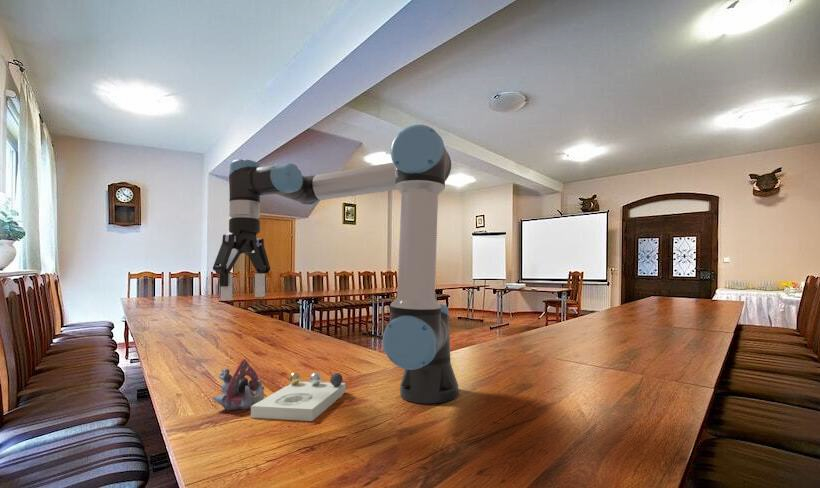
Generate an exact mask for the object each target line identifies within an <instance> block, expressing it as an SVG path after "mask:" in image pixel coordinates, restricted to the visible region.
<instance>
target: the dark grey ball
mask: <svg viewBox="0 0 820 488" xmlns="http://www.w3.org/2000/svg"><path fill="white" fill-rule="evenodd" d="M329 383H331V384H332V385H334V386H339V385H340V384H341V383H343V375H342V374H341V373H338V372H336V373H333V374H332V375H331V376H330V382H329Z"/></svg>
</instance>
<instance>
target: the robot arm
mask: <svg viewBox="0 0 820 488" xmlns="http://www.w3.org/2000/svg"><path fill="white" fill-rule="evenodd" d="M390 157H391V161H392V162H388V163H382V164H376V165H370V166H363V167H357V168H351V169H344V170H338V171H333V172H327V173H326V172H325V173H319V174H313V175H308V176H304V175H303V173H302V171H301V169H299V167H298V165H296V164H295V163H290V162H289V163H288V162H287V163H286V162H285V163H284V162H282V163H281V162H280V163H275V164H272V165H264V166H260V164H259V163H258V162H257V161H254V160H251V159H235V160H232V161H231V162H230V164H229V172H228V173H229V174H228V185H229V199H228V200H229V206H228V207H229V212H228V214H229V215H228V216H229V217H230V219H229V220H228V232H229V233H225V234H223V235H222V241H221V244H220V247H219V250H218V253H217V255H216V257H215V260H214V263H213V266H212V270H213V271H214V272H215V273H216V274H217V275H218V274H219V286H220V301H233V299H234V298H233V297H234V295H233V290H234V287H233V284H234V283H233V280H234V279H233V278H234V277H233V276H234V274H233V273H231V271H232V269H233V268H234V266H235V265H236V262H237V260H238V259H239V258H240V255H241V254H245V255H246V256H247V257H248V258H249V260H250V262H251V264H252V266H253V267H254V269H255V271H256V273H254V298H261V297H262V298H265V297H266V274H270V271H271V266H270V262H269V258H268V255H267V252H266V249H265V240H264V238H261V237H260V238H257V234H260V233H261V232H260V231H261V221H260V220H259V219H260V218H261V196H269V195H278V196H280V197H284V198H287V199H289V200H293V201H295V202H298V203H300V204H303V205H308V206H314V205H316V204H318V203H319V202H320V201H325V200H333V199H341V198H347V197H354V196H361V195H369V194H370V195H371V194H376V193H377V194H378V193H385V192H391V191H392V192H393V191H398V192H399V193H400V196H401V197H400V216H399V217H400V220H399V244H398V246H399V247H398V269H397V270H398V273H397V292H396V293H397V295H396V296H397V297H396V298H395V299H394V300H393V301H392V302H391V303H390V307H389V322H388V324H386V327H385V329H384V331H383V334H382V346H383V350H384V353H385V355H386V356H387V358H388V359H389V360H390V361H391V362H392V363H393V364H394V365H395V366H396V367H398V368H401V369H403V374H402V379H401V381H400V384H399V385H400V387H399V390H400V393H399V396H400V397H401V398H402V399H403V400H404V401H407V402H411V403H416V404H424V405H425V404H427V405H429V404H442V403H447V402H450V401H452V400H454V399H456V398H457V397H458V396H459V384H458V380H457V378H456V375H455V371H454V368H453V367H452V366H453V365H452V361H451V340H450V339H451V337H450V314H449V308H448V306H447V305H445V304H443V303H441V304H440V303H439V302H438V301H437V300H436V298H435V297H436V274H437V273H436V271H437V270H436V269H437V267H436V266H437V263H436V262H437V240H438V239H437V238H438V235H437V234H438V232H437V231H438V207H439V195H440V194H441V193H442V192H443V191H444V190H445V189H446V188H445V187H446V181H447V179H448V178H449V176H450V174H451V171H452V159H451V157H450V155H449V152H448V151H447V148H446V146H445V143H444V140H443V138H442V136H441V135H440V133H438V132H437V130H435V129H434V128H433V127H430V126H428V125H424V124H413V125H409V126H407V127H405V128H403V129H402V130H401V131H400V132H399V133H398V134H397V135H396V136H395V137H394V138H393V141H392V142H391V145H390Z"/></svg>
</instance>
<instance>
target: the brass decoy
mask: <svg viewBox="0 0 820 488" xmlns="http://www.w3.org/2000/svg"><path fill="white" fill-rule="evenodd" d="M301 380H302V375H301V373H299V372H298V371H293V372H292V373H290V375H289V376H288V382H289V384H293V385H295V384H298V383H299V382H301Z"/></svg>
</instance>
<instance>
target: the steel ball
mask: <svg viewBox="0 0 820 488" xmlns="http://www.w3.org/2000/svg"><path fill="white" fill-rule="evenodd" d="M322 378H323V377H322V374H320V373H319V372H313V373H311V375H310V376H309V378H308V382H310V383H311V384H312V385H318V384H319V383H320V382H322Z"/></svg>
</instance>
